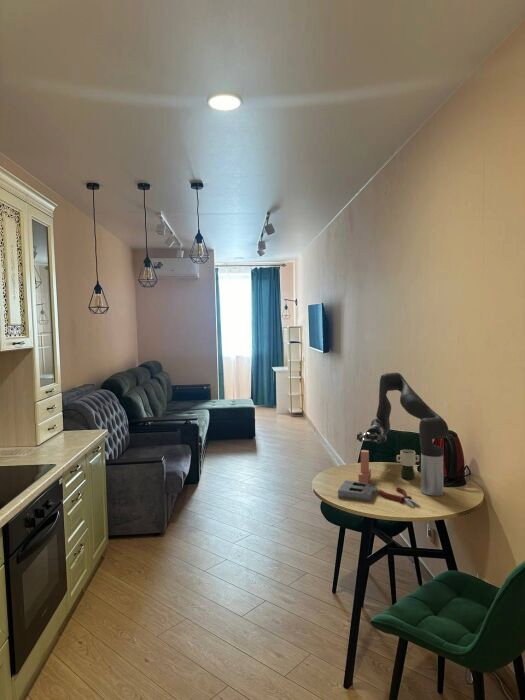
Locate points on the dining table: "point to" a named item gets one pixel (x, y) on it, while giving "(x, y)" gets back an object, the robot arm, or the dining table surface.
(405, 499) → the pliers
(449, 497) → the dining table surface
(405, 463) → the character mug
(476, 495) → the dining table surface
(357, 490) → the grey socket board
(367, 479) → the pink tall block
